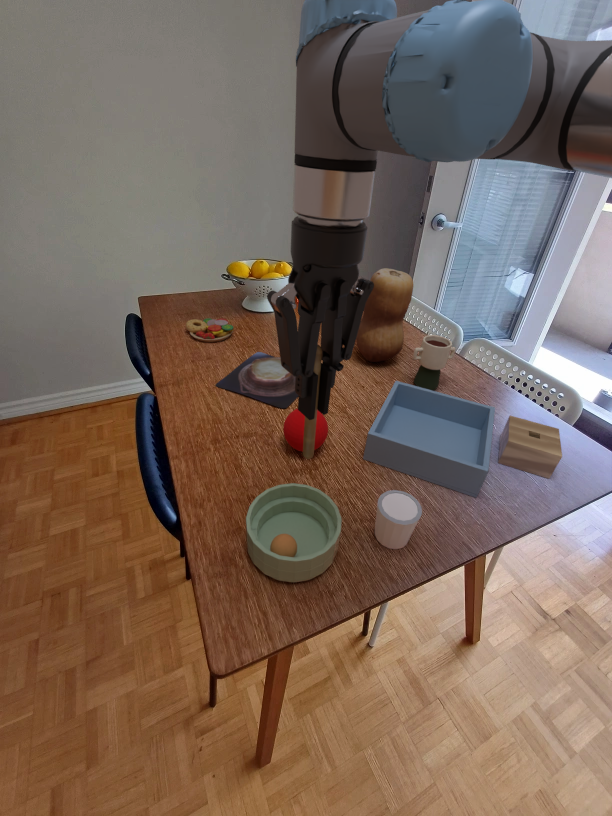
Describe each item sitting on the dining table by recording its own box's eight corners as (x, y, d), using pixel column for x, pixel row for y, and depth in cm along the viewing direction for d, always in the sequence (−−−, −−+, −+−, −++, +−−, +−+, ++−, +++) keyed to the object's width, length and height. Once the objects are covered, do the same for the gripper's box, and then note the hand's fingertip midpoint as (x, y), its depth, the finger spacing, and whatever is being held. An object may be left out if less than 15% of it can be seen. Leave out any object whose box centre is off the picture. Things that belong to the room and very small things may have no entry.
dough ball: (289, 572, 58) (290, 555, 56) (265, 561, 59) (265, 544, 57) (300, 550, 61) (302, 534, 59) (277, 540, 62) (278, 524, 60)
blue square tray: (476, 498, 73) (488, 471, 69) (362, 459, 80) (367, 433, 76) (485, 431, 90) (495, 407, 86) (390, 404, 96) (395, 380, 93)
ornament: (283, 461, 78) (284, 421, 72) (282, 432, 85) (283, 393, 79) (328, 461, 79) (333, 421, 73) (323, 432, 86) (327, 394, 80)
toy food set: (182, 330, 123) (181, 320, 121) (221, 321, 130) (220, 312, 128) (201, 347, 114) (200, 336, 112) (241, 337, 121) (241, 327, 119)
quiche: (258, 352, 114) (258, 339, 112) (322, 371, 107) (323, 358, 105) (213, 385, 98) (212, 371, 96) (284, 410, 92) (285, 396, 89)
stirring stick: (310, 462, 57) (319, 349, 47) (300, 459, 57) (306, 345, 47) (315, 456, 58) (324, 344, 48) (305, 452, 59) (312, 340, 48)
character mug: (438, 378, 108) (451, 334, 101) (450, 392, 102) (465, 347, 95) (400, 379, 106) (411, 334, 99) (410, 394, 101) (422, 348, 93)
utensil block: (549, 479, 78) (562, 456, 75) (497, 463, 81) (508, 440, 78) (547, 450, 86) (559, 428, 82) (500, 436, 89) (509, 415, 85)
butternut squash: (402, 371, 110) (423, 281, 95) (354, 368, 110) (367, 278, 95) (394, 348, 121) (412, 265, 107) (350, 345, 121) (362, 261, 106)
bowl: (315, 601, 55) (319, 577, 52) (229, 560, 60) (227, 535, 56) (349, 526, 66) (354, 502, 63) (274, 496, 70) (274, 472, 67)
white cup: (385, 558, 62) (394, 530, 58) (362, 524, 67) (369, 496, 63) (421, 544, 64) (431, 516, 60) (396, 512, 69) (404, 484, 65)
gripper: (360, 207, 45) (337, 383, 59) (245, 214, 38) (250, 413, 51) (409, 221, 40) (372, 409, 54) (289, 232, 33) (281, 446, 47)
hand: (312, 411), depth 53 cm, fingers closed on stirring stick, 1 cm apart
